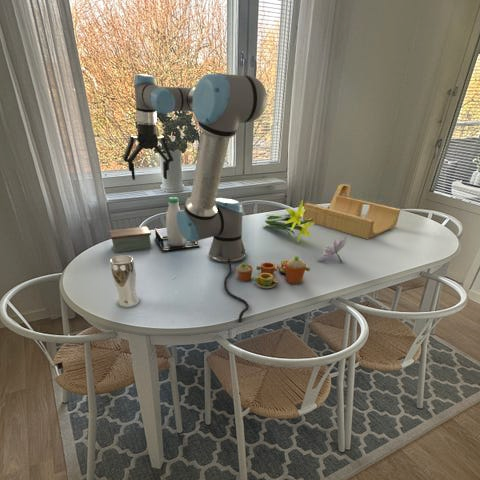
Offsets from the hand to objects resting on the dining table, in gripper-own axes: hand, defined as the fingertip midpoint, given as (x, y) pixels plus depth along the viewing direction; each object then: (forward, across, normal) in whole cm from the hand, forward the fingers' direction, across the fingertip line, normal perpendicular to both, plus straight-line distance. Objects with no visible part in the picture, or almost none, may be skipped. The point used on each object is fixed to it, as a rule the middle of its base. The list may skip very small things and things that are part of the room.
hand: (149, 178), depth 148 cm
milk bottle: (+24, -8, +15) cm, 29 cm away
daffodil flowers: (+21, -58, +24) cm, 66 cm away
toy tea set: (+16, -29, +63) cm, 71 cm away
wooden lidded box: (+25, +12, +13) cm, 31 cm away
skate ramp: (+20, -104, +20) cm, 108 cm away
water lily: (+16, -62, +56) cm, 85 cm away
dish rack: (+24, -8, +15) cm, 29 cm away
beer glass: (+18, +22, +60) cm, 66 cm away
